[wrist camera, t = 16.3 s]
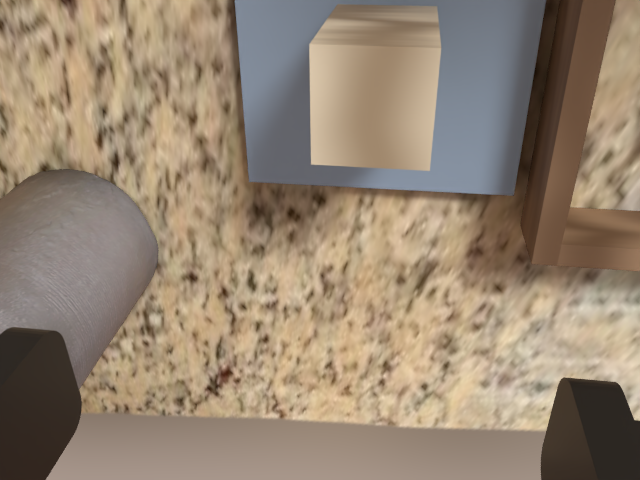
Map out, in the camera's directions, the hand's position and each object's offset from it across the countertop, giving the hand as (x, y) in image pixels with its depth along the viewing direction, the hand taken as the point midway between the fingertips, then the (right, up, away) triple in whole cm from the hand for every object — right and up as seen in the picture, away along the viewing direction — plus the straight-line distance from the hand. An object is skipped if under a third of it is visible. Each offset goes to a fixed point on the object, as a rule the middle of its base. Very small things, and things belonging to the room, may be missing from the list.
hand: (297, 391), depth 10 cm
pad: (+3, +12, +20) cm, 23 cm away
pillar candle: (-14, +3, +28) cm, 32 cm away
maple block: (+3, +11, +19) cm, 22 cm away
